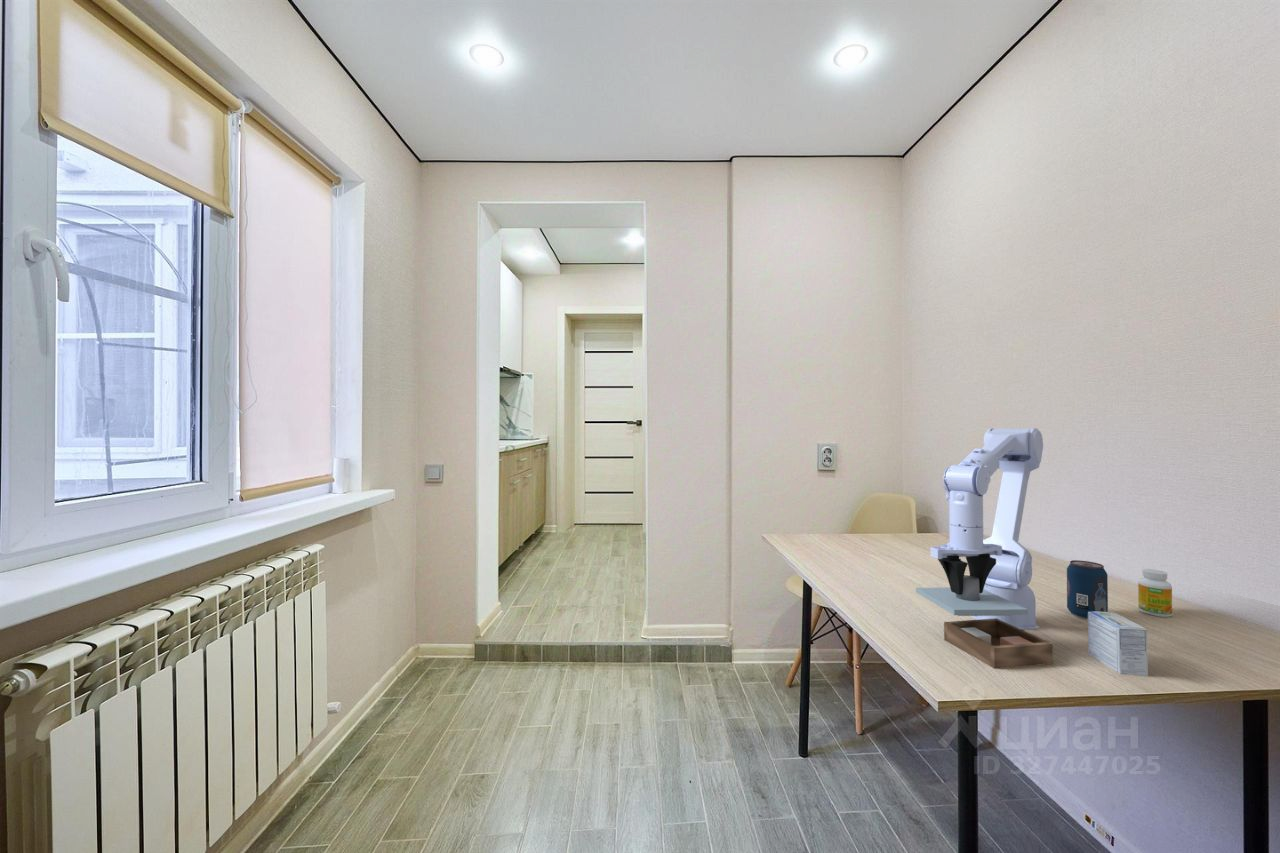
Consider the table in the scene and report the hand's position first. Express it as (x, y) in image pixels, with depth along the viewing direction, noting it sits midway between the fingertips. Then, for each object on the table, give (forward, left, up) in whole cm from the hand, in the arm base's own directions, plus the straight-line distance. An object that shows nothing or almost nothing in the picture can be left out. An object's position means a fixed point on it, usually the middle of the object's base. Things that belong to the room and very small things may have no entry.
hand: (966, 592), depth 99 cm
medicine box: (-19, +12, -11) cm, 25 cm away
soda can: (-38, -9, -11) cm, 41 cm away
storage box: (-2, +4, -10) cm, 11 cm away
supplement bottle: (-55, -8, -11) cm, 57 cm away
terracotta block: (-5, +7, -10) cm, 13 cm away
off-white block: (0, +2, -10) cm, 10 cm away
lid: (0, 0, -2) cm, 2 cm away
